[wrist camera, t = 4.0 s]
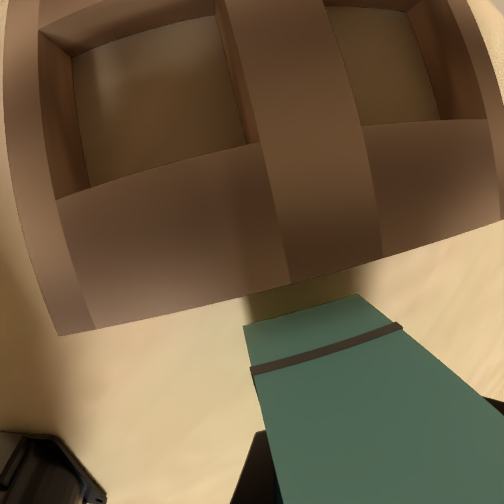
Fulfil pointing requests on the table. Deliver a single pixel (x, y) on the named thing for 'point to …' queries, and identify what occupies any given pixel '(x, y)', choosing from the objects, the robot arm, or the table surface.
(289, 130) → the walnut board
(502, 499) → the teal peg
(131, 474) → the table surface
